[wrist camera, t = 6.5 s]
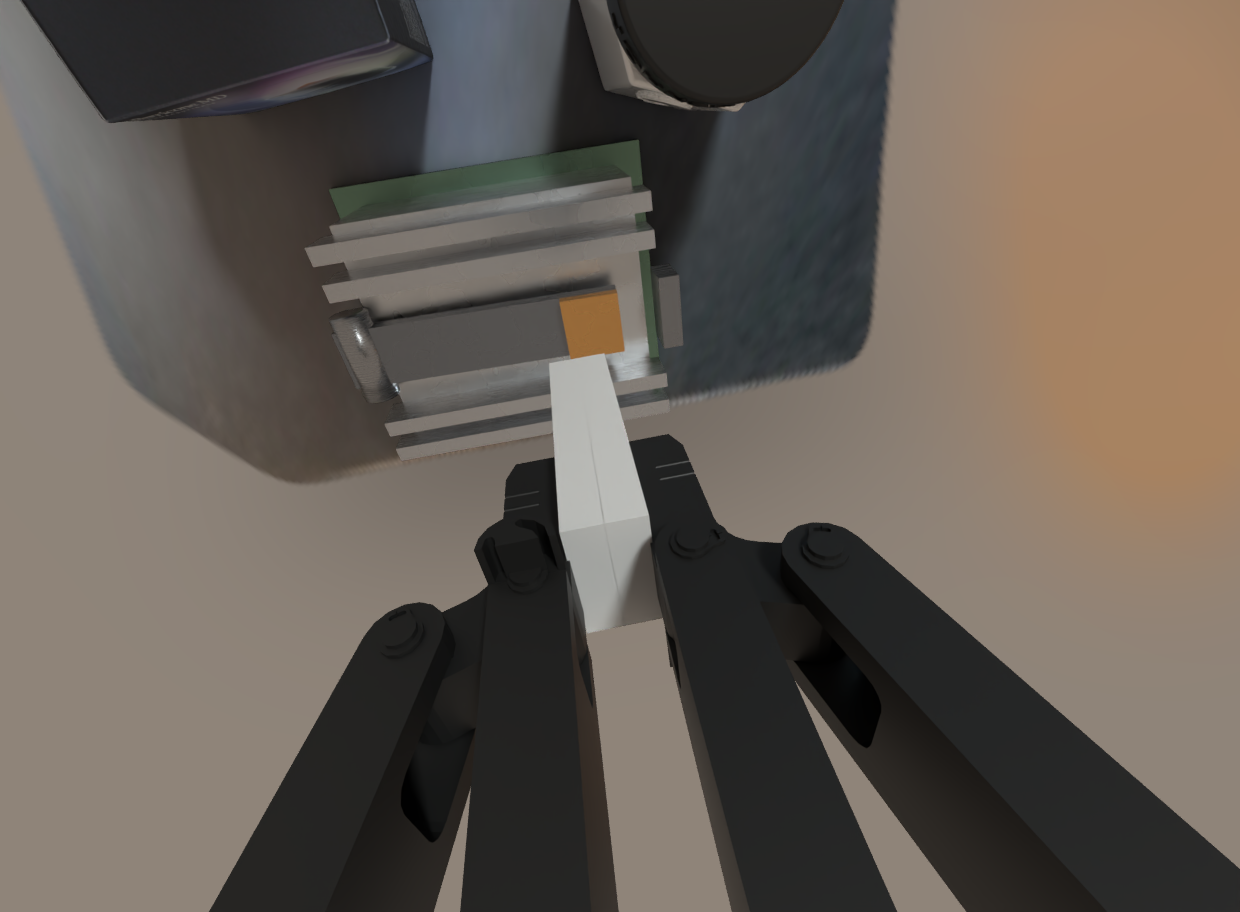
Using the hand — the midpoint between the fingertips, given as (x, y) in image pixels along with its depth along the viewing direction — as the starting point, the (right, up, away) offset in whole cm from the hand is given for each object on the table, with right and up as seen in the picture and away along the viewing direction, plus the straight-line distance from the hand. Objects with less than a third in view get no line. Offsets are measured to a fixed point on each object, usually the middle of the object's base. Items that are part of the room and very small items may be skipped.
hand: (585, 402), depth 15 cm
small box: (-14, +19, +10) cm, 26 cm away
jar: (+3, +21, +12) cm, 24 cm away
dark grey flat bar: (-6, +5, +13) cm, 15 cm away
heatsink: (-6, +9, +18) cm, 21 cm away
